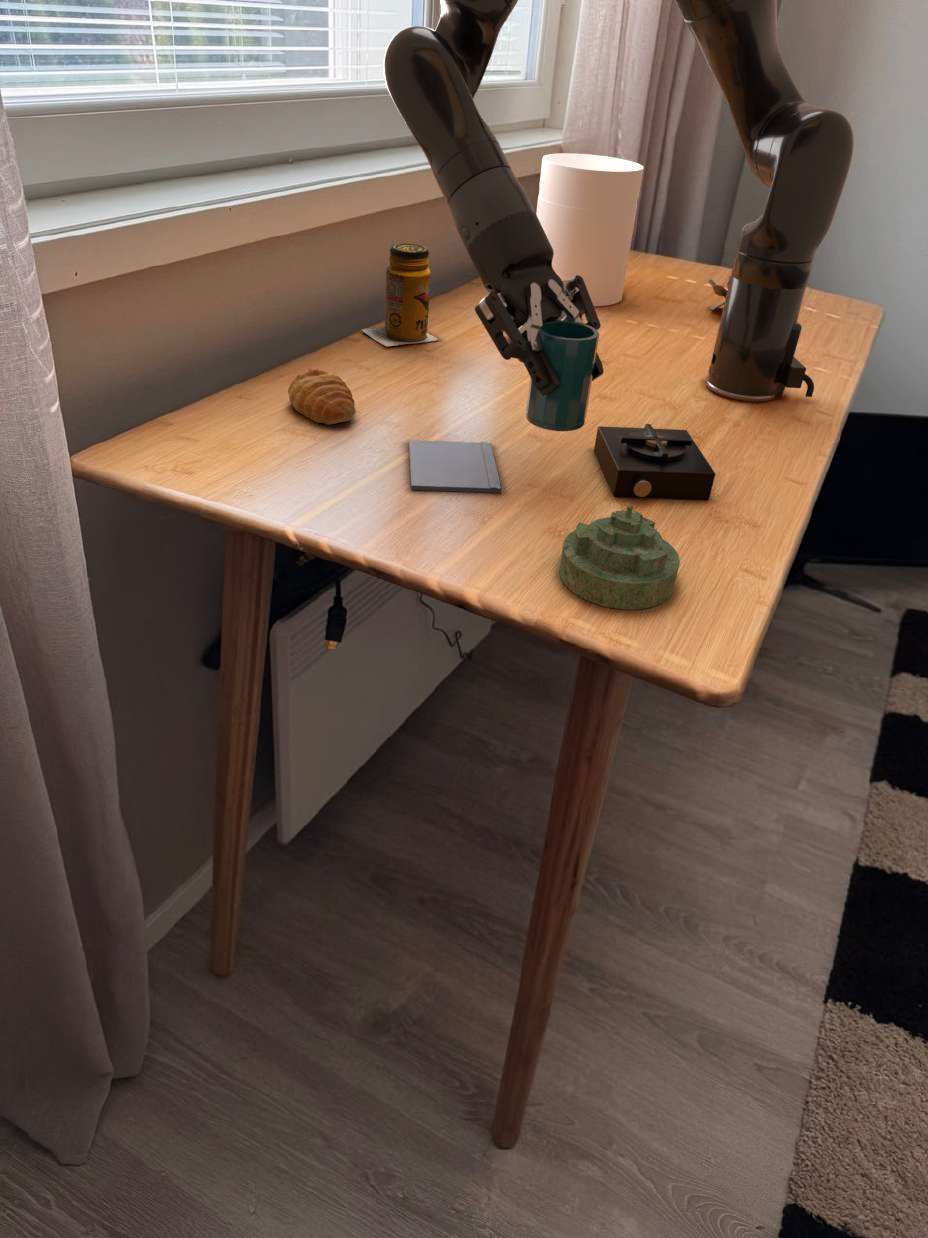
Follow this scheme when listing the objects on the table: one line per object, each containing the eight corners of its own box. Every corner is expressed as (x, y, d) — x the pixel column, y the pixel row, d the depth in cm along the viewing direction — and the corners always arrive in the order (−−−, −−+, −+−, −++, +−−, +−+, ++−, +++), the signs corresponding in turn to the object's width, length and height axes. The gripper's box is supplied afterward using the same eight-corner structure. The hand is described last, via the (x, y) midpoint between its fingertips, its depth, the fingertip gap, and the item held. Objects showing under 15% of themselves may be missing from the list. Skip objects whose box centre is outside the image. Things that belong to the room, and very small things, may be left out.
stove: (680, 454, 104) (688, 419, 101) (711, 504, 94) (721, 467, 92) (593, 451, 103) (599, 415, 100) (615, 501, 93) (622, 463, 91)
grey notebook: (490, 447, 102) (491, 442, 101) (500, 493, 93) (501, 487, 92) (408, 443, 101) (408, 438, 100) (411, 490, 92) (411, 484, 91)
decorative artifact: (563, 541, 85) (554, 599, 77) (574, 472, 81) (565, 525, 73) (672, 558, 84) (674, 618, 76) (688, 488, 80) (693, 544, 72)
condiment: (439, 340, 130) (444, 251, 123) (386, 347, 126) (389, 255, 119) (412, 325, 135) (416, 238, 128) (361, 331, 131) (362, 242, 124)
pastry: (370, 423, 104) (370, 390, 102) (315, 432, 101) (314, 399, 99) (335, 394, 111) (334, 363, 109) (282, 402, 108) (280, 370, 106)
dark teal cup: (578, 409, 97) (592, 321, 92) (589, 432, 92) (604, 341, 87) (522, 406, 97) (533, 318, 91) (529, 430, 92) (541, 338, 86)
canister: (628, 309, 150) (651, 174, 139) (530, 301, 150) (545, 166, 138) (616, 283, 163) (636, 158, 152) (526, 275, 163) (539, 149, 151)
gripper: (469, 213, 84) (549, 381, 84) (572, 201, 92) (644, 353, 92) (426, 260, 90) (501, 416, 90) (526, 245, 98) (595, 387, 98)
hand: (574, 383), depth 91 cm, fingers closed on dark teal cup, 6 cm apart
